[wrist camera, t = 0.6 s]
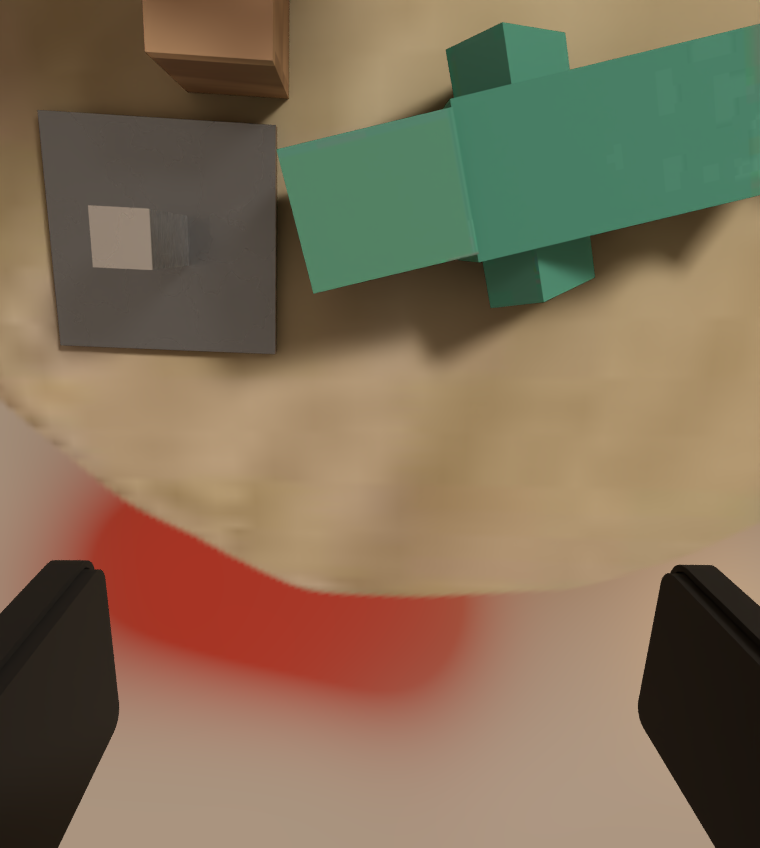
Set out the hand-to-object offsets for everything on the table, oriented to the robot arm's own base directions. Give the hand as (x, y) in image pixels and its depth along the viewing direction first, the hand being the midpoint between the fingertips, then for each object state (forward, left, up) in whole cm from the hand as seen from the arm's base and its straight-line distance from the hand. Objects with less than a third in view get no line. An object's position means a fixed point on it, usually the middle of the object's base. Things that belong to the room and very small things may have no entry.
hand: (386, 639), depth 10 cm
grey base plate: (-6, -11, -27) cm, 29 cm away
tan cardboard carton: (-16, -7, -27) cm, 32 cm away
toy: (-11, +11, -27) cm, 31 cm away
